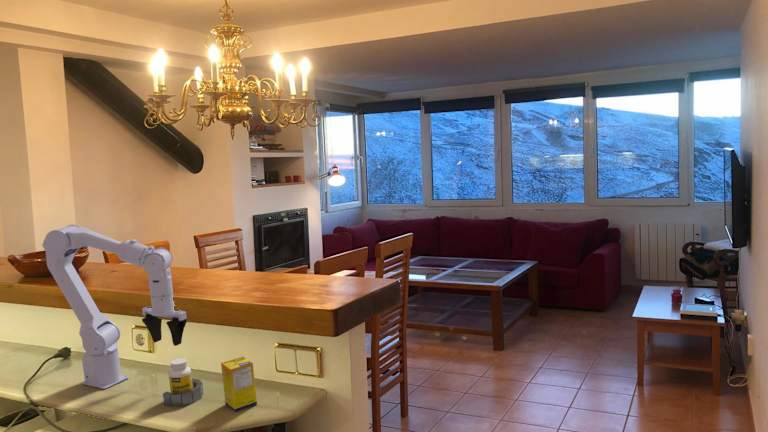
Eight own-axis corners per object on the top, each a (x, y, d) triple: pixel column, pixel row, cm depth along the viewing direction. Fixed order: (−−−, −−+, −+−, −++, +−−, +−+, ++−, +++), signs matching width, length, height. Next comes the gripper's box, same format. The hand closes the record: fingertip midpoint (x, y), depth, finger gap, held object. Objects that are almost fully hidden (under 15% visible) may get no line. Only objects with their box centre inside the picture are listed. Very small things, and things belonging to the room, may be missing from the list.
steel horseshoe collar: (164, 404, 156) (162, 393, 155) (193, 389, 164) (192, 378, 164) (182, 409, 153) (180, 397, 152) (211, 392, 161) (210, 381, 161)
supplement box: (247, 397, 157) (243, 355, 156) (257, 404, 153) (253, 362, 151) (224, 404, 154) (220, 362, 152) (234, 412, 149) (230, 369, 148)
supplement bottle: (170, 404, 156) (166, 366, 154) (172, 395, 161) (167, 358, 160) (193, 400, 157) (189, 363, 156) (194, 391, 163) (190, 355, 161)
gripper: (192, 292, 168) (198, 340, 170) (154, 288, 175) (160, 334, 177) (172, 299, 162) (178, 350, 164) (133, 295, 169) (139, 343, 171)
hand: (167, 342), depth 170 cm, fingers open, 7 cm apart
